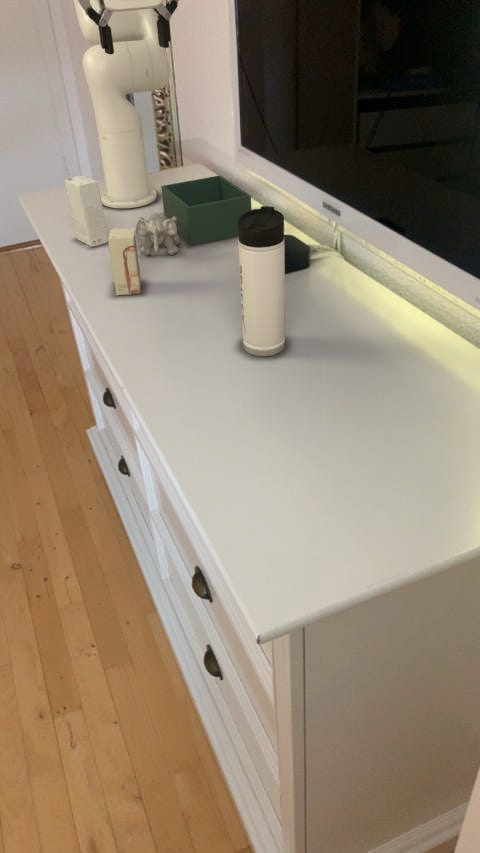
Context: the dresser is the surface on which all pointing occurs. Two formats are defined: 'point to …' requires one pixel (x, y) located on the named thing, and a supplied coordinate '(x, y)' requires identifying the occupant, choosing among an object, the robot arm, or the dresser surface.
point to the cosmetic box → (87, 210)
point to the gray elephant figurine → (158, 233)
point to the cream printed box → (124, 261)
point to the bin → (205, 208)
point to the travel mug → (262, 280)
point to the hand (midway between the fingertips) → (137, 50)
